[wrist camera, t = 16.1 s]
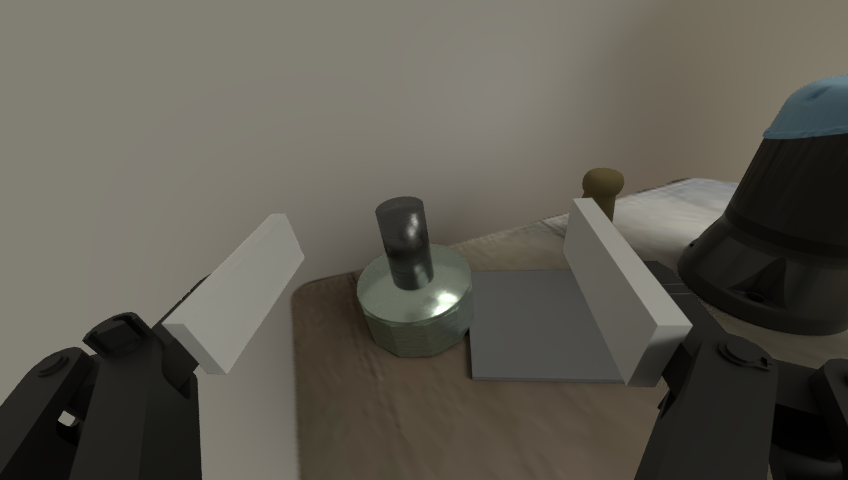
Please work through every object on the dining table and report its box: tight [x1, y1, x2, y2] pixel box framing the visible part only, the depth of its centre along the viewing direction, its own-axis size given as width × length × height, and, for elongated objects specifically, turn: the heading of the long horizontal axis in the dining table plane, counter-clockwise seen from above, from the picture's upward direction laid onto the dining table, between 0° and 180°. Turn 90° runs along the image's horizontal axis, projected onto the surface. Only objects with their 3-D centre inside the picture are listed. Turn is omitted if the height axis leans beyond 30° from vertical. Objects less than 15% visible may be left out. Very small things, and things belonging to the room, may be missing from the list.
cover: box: [357, 197, 474, 357], centre depth 34 cm, size 13×13×15 cm
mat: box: [469, 270, 625, 383], centre depth 35 cm, size 16×16×1 cm
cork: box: [582, 168, 624, 223], centre depth 45 cm, size 6×6×11 cm
